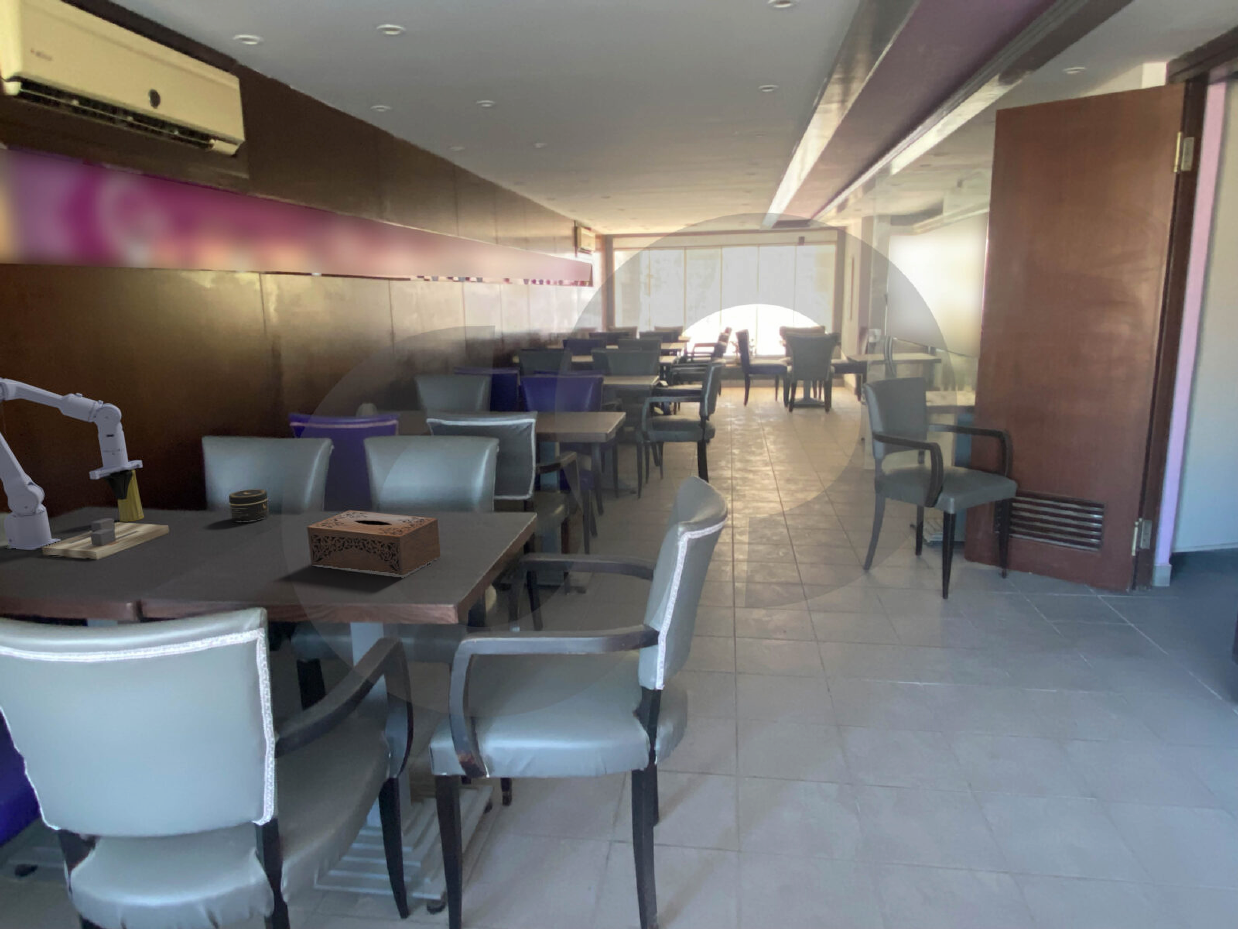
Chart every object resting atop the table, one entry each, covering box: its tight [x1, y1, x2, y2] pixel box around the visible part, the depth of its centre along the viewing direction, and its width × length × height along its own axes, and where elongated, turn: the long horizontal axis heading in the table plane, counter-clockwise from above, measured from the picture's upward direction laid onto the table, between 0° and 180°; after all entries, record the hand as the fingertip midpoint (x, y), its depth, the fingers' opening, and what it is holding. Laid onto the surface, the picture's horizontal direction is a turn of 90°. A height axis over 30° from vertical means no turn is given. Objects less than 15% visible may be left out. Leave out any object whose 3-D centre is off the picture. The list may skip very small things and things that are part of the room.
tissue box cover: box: [306, 509, 441, 575], centre depth 184 cm, size 26×14×10 cm, turn 69°
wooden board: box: [41, 521, 170, 560], centre depth 204 cm, size 17×22×2 cm
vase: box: [117, 469, 145, 523], centre depth 225 cm, size 6×6×14 cm
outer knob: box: [90, 529, 116, 546], centre depth 197 cm, size 3×4×3 cm
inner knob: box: [90, 517, 115, 533], centre depth 207 cm, size 3×4×3 cm
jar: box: [228, 488, 270, 522], centre depth 223 cm, size 10×10×8 cm
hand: (121, 499), depth 211 cm, fingers closed
